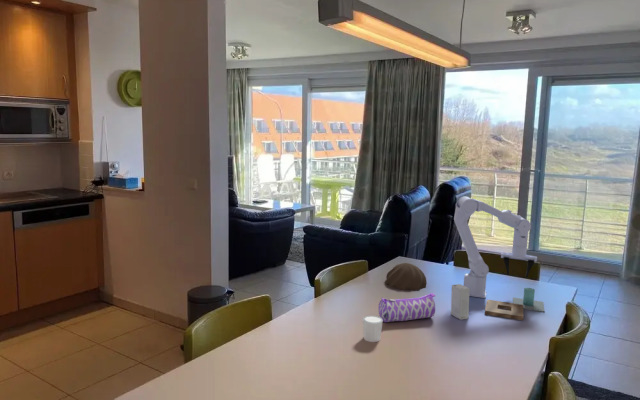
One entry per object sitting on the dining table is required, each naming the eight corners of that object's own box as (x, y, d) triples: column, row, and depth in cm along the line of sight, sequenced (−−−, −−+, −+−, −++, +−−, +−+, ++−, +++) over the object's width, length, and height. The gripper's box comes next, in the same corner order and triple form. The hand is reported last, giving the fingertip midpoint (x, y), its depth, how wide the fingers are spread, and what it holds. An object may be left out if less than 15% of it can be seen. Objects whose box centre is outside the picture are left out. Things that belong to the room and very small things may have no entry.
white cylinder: (369, 344, 157) (369, 324, 156) (358, 336, 163) (358, 317, 162) (386, 340, 160) (386, 321, 159) (374, 332, 166) (375, 314, 166)
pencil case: (384, 326, 172) (385, 302, 171) (374, 317, 181) (375, 293, 180) (437, 320, 179) (439, 297, 178) (425, 311, 188) (426, 289, 186)
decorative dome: (382, 277, 232) (383, 257, 231) (422, 278, 232) (423, 258, 230) (387, 290, 213) (388, 268, 212) (431, 291, 213) (432, 269, 211)
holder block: (484, 314, 186) (484, 310, 186) (487, 302, 199) (487, 299, 199) (523, 320, 181) (523, 316, 181) (522, 308, 194) (523, 304, 193)
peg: (522, 304, 196) (524, 289, 195) (523, 301, 200) (524, 287, 199) (533, 306, 195) (534, 291, 194) (533, 303, 198) (534, 288, 197)
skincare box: (468, 318, 181) (471, 288, 179) (459, 320, 180) (461, 289, 178) (459, 313, 187) (461, 283, 185) (449, 314, 185) (451, 284, 184)
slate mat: (512, 307, 194) (512, 306, 194) (512, 298, 205) (513, 297, 205) (544, 312, 190) (544, 311, 190) (543, 302, 201) (543, 301, 201)
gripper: (501, 245, 204) (499, 275, 206) (538, 249, 199) (535, 280, 201) (502, 241, 211) (499, 271, 213) (537, 245, 205) (535, 275, 207)
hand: (517, 275), depth 207 cm, fingers open, 7 cm apart
